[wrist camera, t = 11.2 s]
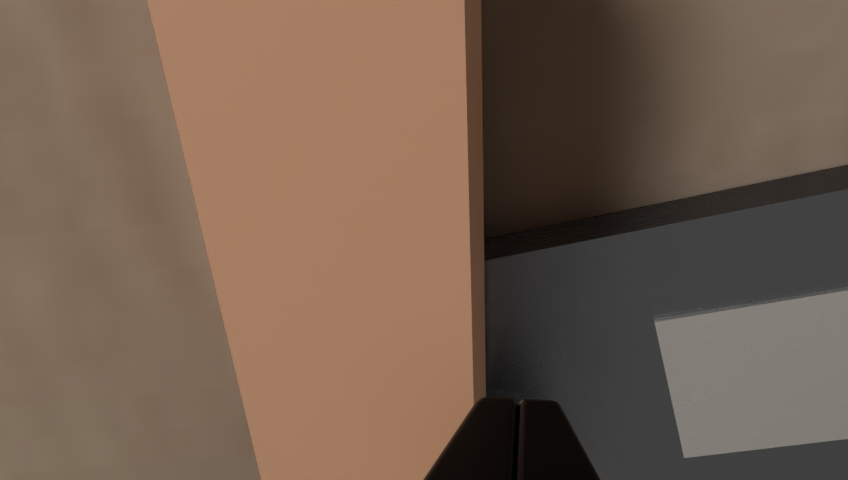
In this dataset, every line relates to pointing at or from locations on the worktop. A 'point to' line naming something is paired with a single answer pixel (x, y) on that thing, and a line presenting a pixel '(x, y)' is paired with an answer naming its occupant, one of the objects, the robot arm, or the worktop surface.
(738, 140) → the worktop surface
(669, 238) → the label plate
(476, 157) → the swing bar
